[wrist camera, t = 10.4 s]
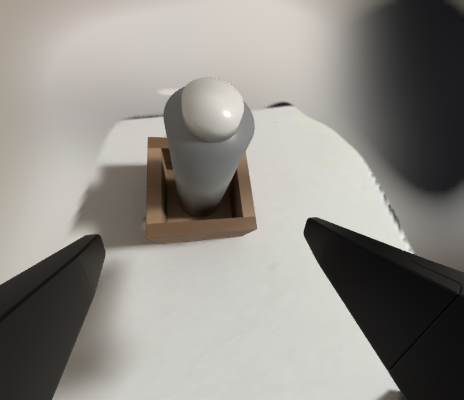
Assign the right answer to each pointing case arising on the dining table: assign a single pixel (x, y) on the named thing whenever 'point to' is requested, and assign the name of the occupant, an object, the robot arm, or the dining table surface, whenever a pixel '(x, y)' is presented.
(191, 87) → the white rounded cylinder
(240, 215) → the end holder
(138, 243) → the dining table surface
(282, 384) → the dining table surface
